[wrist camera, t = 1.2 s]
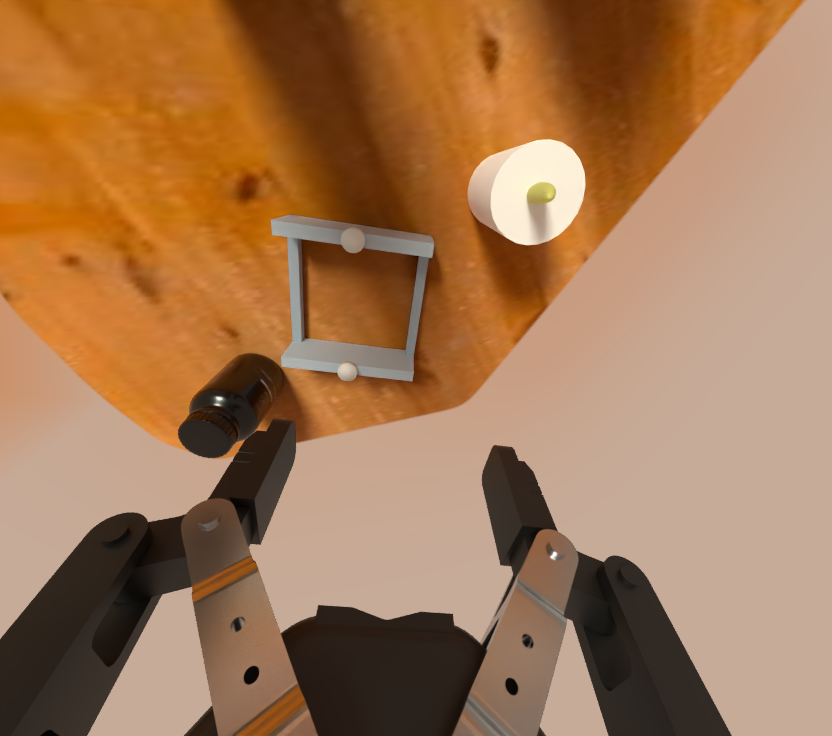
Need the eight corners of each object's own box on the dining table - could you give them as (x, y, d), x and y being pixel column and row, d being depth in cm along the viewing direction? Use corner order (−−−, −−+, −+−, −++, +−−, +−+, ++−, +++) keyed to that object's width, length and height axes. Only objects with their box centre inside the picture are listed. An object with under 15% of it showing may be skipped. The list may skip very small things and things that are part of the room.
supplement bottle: (295, 373, 41) (256, 439, 30) (267, 406, 43) (221, 477, 33) (245, 340, 39) (184, 398, 28) (219, 376, 41) (153, 442, 31)
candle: (527, 229, 33) (603, 262, 20) (463, 224, 32) (497, 254, 19) (544, 155, 30) (647, 135, 17) (473, 149, 29) (521, 124, 16)
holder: (290, 209, 32) (267, 215, 27) (432, 231, 33) (435, 240, 28) (296, 348, 39) (279, 373, 34) (411, 362, 40) (411, 388, 35)
